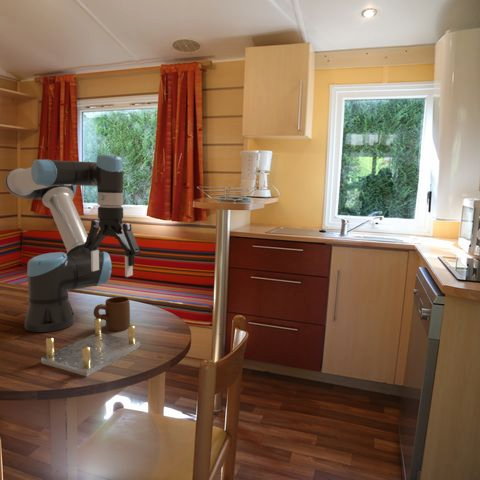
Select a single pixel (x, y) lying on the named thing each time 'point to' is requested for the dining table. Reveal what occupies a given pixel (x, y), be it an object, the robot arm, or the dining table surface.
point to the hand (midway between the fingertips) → (111, 273)
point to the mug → (115, 313)
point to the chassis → (90, 351)
